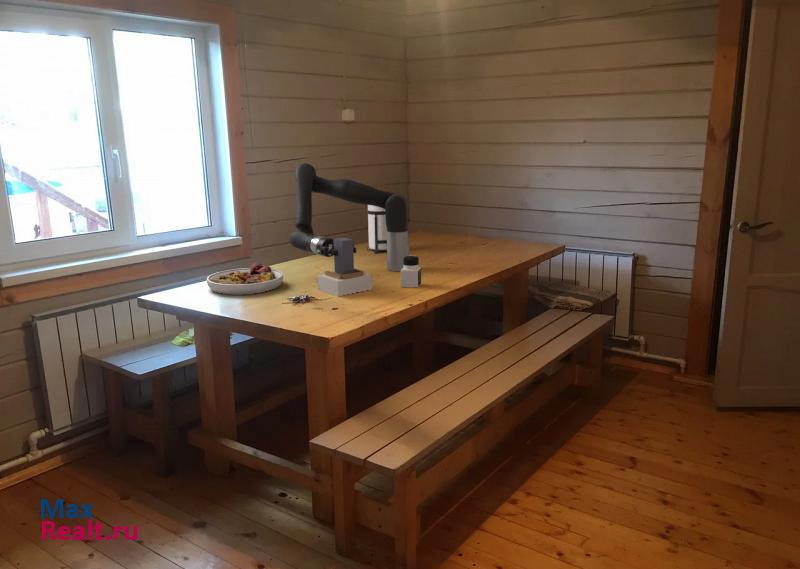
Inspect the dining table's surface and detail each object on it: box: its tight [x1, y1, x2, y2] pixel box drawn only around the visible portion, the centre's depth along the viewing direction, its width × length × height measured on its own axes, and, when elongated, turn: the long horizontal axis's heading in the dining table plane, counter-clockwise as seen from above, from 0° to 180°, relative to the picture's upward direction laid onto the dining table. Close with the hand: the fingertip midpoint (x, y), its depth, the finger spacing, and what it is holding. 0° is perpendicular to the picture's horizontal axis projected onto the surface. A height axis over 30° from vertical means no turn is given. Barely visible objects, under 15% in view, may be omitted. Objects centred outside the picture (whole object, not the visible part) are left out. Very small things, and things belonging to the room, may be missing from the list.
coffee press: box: [366, 205, 387, 254], centre depth 337 cm, size 17×16×30 cm
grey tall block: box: [333, 237, 355, 275], centre depth 261 cm, size 5×6×14 cm
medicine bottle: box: [400, 254, 422, 288], centre depth 268 cm, size 7×7×12 cm
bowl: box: [206, 262, 284, 296], centre depth 270 cm, size 30×30×8 cm
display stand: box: [317, 267, 373, 298], centre depth 263 cm, size 16×14×8 cm
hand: (346, 251), depth 259 cm, fingers open, 8 cm apart
